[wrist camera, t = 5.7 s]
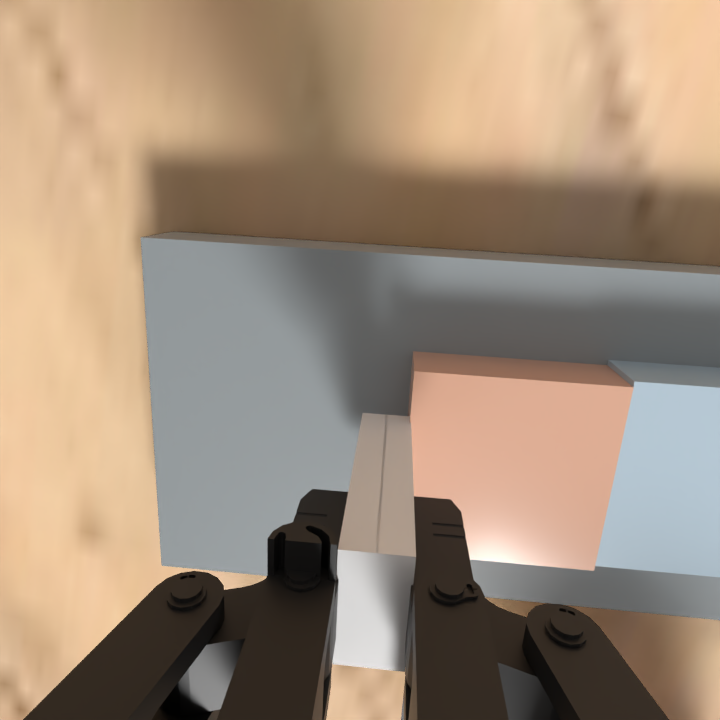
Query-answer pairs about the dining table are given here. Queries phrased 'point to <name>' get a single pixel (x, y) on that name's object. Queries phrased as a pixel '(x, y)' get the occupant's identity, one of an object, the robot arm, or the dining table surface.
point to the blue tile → (666, 473)
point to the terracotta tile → (519, 452)
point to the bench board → (378, 377)
